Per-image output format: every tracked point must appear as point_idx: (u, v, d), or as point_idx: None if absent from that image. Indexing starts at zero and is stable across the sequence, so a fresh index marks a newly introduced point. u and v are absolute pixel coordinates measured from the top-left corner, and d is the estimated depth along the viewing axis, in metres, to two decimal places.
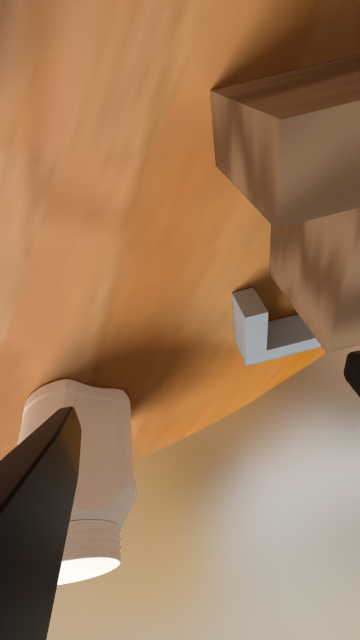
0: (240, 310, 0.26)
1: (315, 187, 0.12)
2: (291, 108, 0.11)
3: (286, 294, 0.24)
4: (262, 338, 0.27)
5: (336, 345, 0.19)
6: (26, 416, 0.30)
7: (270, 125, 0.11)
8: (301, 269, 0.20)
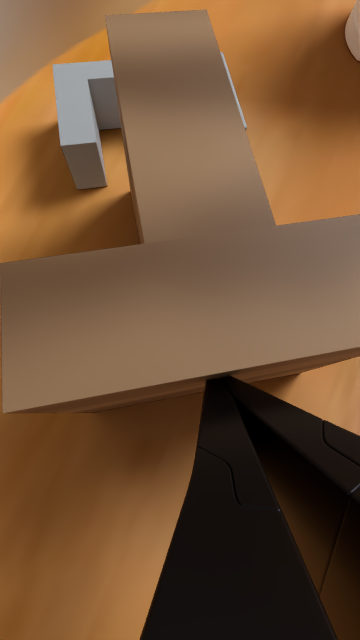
0: None
1: None
2: None
3: None
4: None
5: (195, 20, 0.12)
6: None
7: None
8: None
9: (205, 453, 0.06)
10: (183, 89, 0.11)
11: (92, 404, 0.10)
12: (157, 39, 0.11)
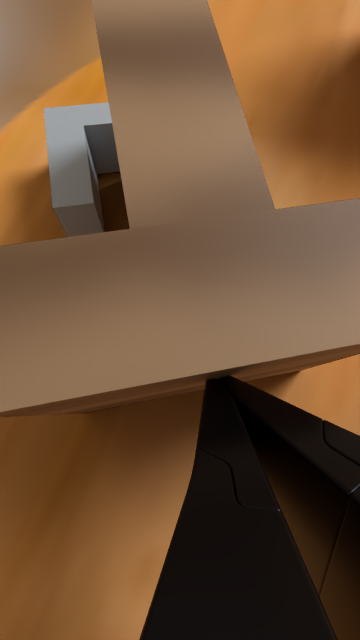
0: None
1: None
2: None
3: None
4: None
5: None
6: None
7: None
8: None
9: (205, 453, 0.06)
10: (174, 62, 0.10)
11: (75, 406, 0.09)
12: (145, 9, 0.10)
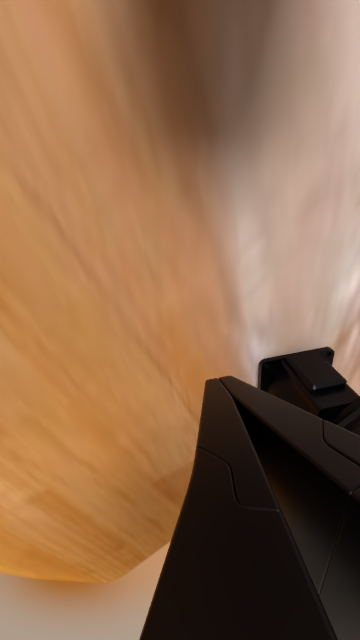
0: None
1: None
2: None
3: None
4: None
5: None
6: None
7: None
8: None
9: (205, 453, 0.06)
10: None
11: None
12: None
